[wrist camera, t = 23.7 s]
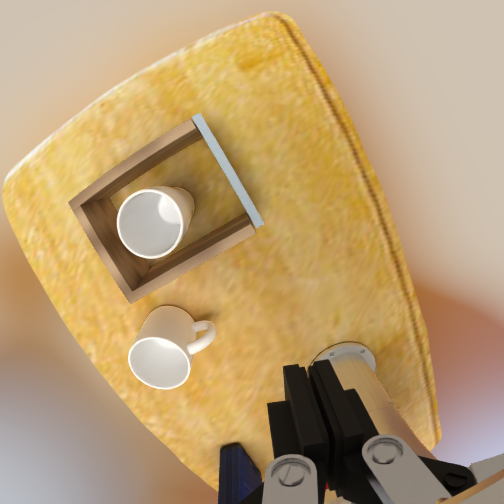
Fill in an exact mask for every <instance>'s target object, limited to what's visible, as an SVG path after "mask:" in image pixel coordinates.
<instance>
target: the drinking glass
mask: <svg viewBox="0 0 504 504" xmlns="http://www.w3.org/2000/svg"><path fill="white" fill-rule="evenodd" d="M194 210H195V203H194V200H193V197H192V196H191V194H190V193H189V192H188V191H186V190H185V189H183V188H180V187H166V186H153V187H148V188H144V189H142V190H139V191H137V192H135V193H133V194H132V195H130V196H129V197H128V198H127V199H126V200H125V201H124V202H123V204H122V205H121V207H120V209H119V212H118V216H117V230H118V234H119V237H120V239H121V241H122V242H123V244H124V245H125V247H126V248H127V249H128V250H129V251H131V252H132V253H134V254H135V255H137V256H140V257H143V258H149V259H154V258H160V257H163V256H165V255H167V254H168V253H170V252H171V251H172V250H173V249H174V248H175V247H176V246H177V245H178V244H179V243H180V242H181V241H182V239H183V238H184V236H185V234H186V232H187V230H188V228H189V225H190V221H191V218H192V216H193V214H194Z"/></svg>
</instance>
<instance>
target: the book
mask: <svg viewBox="0 0 504 504" xmlns="http://www.w3.org/2000/svg"><path fill="white" fill-rule="evenodd" d="M261 484H262V478H261V473H260V472H259V470H258V469H257V468H256V467H255V465H254V463H253V462H252V460H251V459H250V458H249V456H248V455H247V454H246V452H245V451H244V449H243V448H242V447H241V446H240V445H239V444H235V445H231V446H227V447H222V448H221V449H220V468H219V492H218V495H219V496H218V504H238V503H240V502H241V501H242V500H243V499H244V498H246V497H247V496H248V495H249V494H250V493H251V492H253V491H254V490H255V489H256V488H257V487H258V486H260V485H261Z"/></svg>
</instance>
